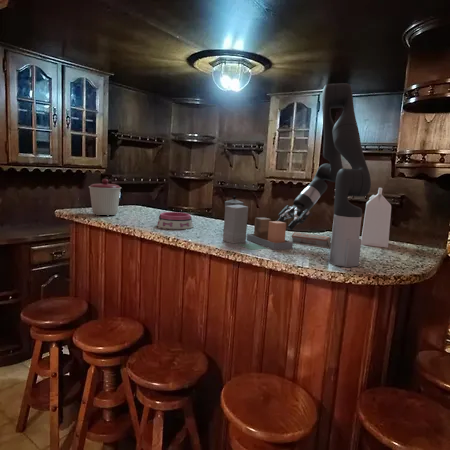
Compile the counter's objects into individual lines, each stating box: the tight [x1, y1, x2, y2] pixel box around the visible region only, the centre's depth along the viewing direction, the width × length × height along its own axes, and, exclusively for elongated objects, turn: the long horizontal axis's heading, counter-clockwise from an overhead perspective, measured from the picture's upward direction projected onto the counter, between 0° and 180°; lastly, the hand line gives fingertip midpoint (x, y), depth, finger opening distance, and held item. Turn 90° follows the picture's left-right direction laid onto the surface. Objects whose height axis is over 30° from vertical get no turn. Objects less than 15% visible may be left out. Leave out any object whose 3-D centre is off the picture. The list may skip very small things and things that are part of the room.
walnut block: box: [253, 217, 272, 241], centre depth 162 cm, size 5×5×10 cm
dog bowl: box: [156, 211, 194, 231], centre depth 190 cm, size 18×19×7 cm
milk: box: [360, 187, 392, 248], centre depth 172 cm, size 12×12×26 cm
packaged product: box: [287, 231, 332, 249], centre depth 164 cm, size 18×5×10 cm
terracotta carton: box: [268, 220, 287, 243], centre depth 152 cm, size 5×5×10 cm
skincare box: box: [222, 205, 249, 244], centre depth 158 cm, size 8×7×16 cm
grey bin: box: [246, 233, 294, 251], centre depth 157 cm, size 20×9×3 cm, turn 28°
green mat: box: [237, 243, 268, 251], centre depth 150 cm, size 10×8×1 cm
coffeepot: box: [222, 195, 245, 233], centre depth 183 cm, size 15×9×18 cm, turn 176°
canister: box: [88, 178, 122, 216], centre depth 215 cm, size 18×18×21 cm
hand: (282, 226), depth 153 cm, fingers open, 8 cm apart
